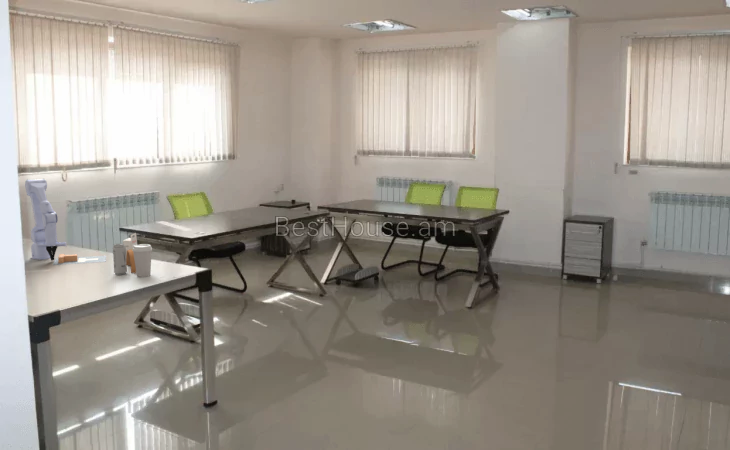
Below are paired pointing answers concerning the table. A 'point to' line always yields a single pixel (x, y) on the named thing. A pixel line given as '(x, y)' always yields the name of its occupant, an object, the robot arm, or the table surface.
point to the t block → (67, 258)
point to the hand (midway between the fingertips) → (52, 260)
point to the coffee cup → (142, 259)
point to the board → (83, 260)
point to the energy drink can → (119, 259)
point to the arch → (131, 260)
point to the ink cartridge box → (130, 242)
